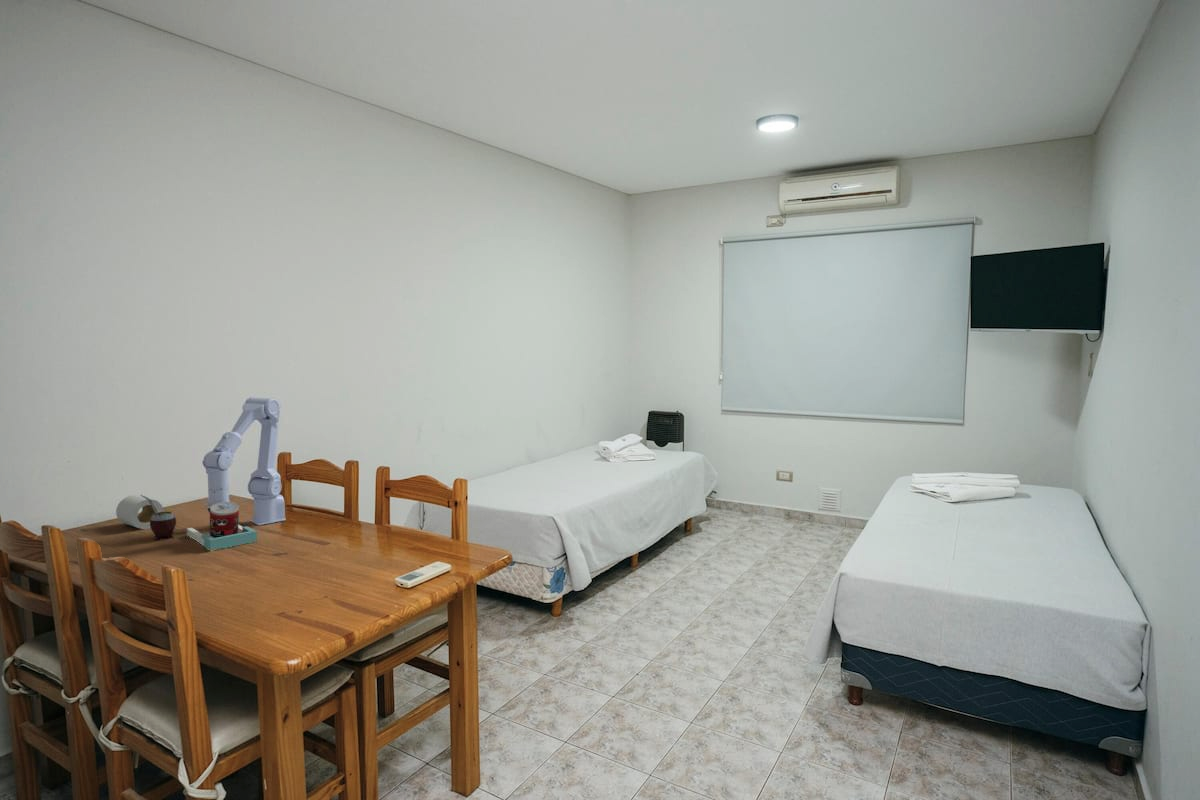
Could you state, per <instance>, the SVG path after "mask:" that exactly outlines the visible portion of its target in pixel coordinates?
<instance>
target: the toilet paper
mask: <svg viewBox="0 0 1200 800" xmlns="http://www.w3.org/2000/svg"><path fill="white" fill-rule="evenodd" d="M149 499H150V500H152V502H153V505H154V507H155V509H156V511H157V513H159V512H164V508H163V505H162V503H161V502H159V501H158V500H156V499H153V498H149ZM141 509H142V510H141ZM115 510H116V511H115V513H116V517H117V520H119V521H120V522H121V523H123V524H125V525H128V526H131V527H135V528H137V529H140V530H147V529H151V527H150V519H151V517H152V516H153V514H155V512H154V510H153V508H152V506H151V504H150V503H149V501H148V500H147V499H146V498H144V497H142V496H141V495H137V494H131V495H128V496H126V497H124V498H123V499H122V500H121V501H119V503H118V504H117V506H116V509H115ZM140 510H141V512H140ZM139 512H140V514H139ZM138 514H139V515H138Z"/></svg>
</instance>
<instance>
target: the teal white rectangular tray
mask: <svg viewBox="0 0 1200 800" xmlns="http://www.w3.org/2000/svg"><path fill="white" fill-rule="evenodd" d="M188 536H189V537H190V539H191V538H192V539H194V540H196V541H197V542H199V543H200V544H202V545H203V546H205V547H206V548H208V549H210V550H215V549H220V548H225V549H228V548H227V547H230V548H233V547H232V546H235V547H238V546H237V545H240V546H242V545H241V544H245V545H247V544H246V543H250V544H252V543H251V542H254V543H256V542H255V541H257V542H258V531H257V530H255V529H253V528H251V527H249V526H246V525H245V526H242V525H240V524H239V523H238V534H233V535H228V536H223V537H218V538H213V537H211V536H210V534H208V533H204V534H203V533H202V532H199V530H196V529H194V528H193V527H187V528H186V537H188ZM189 537H188V538H189ZM192 539H191V540H192ZM194 540H193V541H194ZM197 542H196V543H197ZM199 543H198V544H199ZM200 544H199V545H200ZM202 545H201V546H202ZM203 546H202V547H203ZM205 547H204V548H205ZM206 548H205V549H206ZM208 549H207V550H208ZM220 550H221V549H220Z"/></svg>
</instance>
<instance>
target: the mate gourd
mask: <svg viewBox="0 0 1200 800" xmlns="http://www.w3.org/2000/svg"><path fill="white" fill-rule="evenodd" d="M140 496H142V497H144V498H146V499H147V500H148V501H149V503H150V504H151V506H152V508H153V510H154V512H155V514H153V516H152V517H151V519H150V527H151V528H150V529H151V531H152V532H153V534H154V536H153V538H155V541H157V542H158V541H161V540H163V539H168V538H172V539H174V536H173V533H174V530H175V529H176V525H177V519H176V516H175V514H174V512H172V511H163V512H159V513H157V511H156V509H155V507H154V505H153V502H152V500H150V499H151V498H149V497H147V496H145V495H142V494H140ZM160 539H161V540H160Z"/></svg>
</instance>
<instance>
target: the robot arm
mask: <svg viewBox="0 0 1200 800" xmlns="http://www.w3.org/2000/svg"><path fill="white" fill-rule="evenodd" d="M241 412H242V413H241V415H240V416H239V417H238V419H237V420H236V423H235V424H234V426H233V428H232V429H231V430H230V431H228V432H225V433H223V434H222V436H221V438H220V440H219V441H218V442H217V444H216V445H215V447H214V448H213V449H212V450H210V451H208V452H207V453H206V454H205V455H204V457H203V460H201V461H202V462H201V463H202V465H203V467H204V469H205V473H206V475H207V489H208V490H207V493H208V498H207V502H205V503H204V506H206V507H209V508H207V511H208V513H209V514H210V507H211V506H212V505H214V504H216V503H220V502H231V501H230V493H229V492H230V490H229V489H230V487H229V468H230V467H231V466H232V463H233V459H234V454H235V453H236V451H237V449H239V447H240V446H241V444H242V442H243V440H242V436H243V435H244V433H246V431H247V430H249V428H250V426H251V425H252V424H253V423H254V422H255V421H258V423H260V425H261V430H260V438H259V439H260V440H259V448H258V449H259V450H258V460H257V468H256V470H254V471H253V472H252V473H250V479H249V481H248V483H247V491H248V493H249V494H250V495H251V498H253V518H252V519H249V522H251V523H254V524H255V525H257V526H262V525H268V524H272V523H278V522H283V521H286V519H287V518H286V505H285V503H286V502H285V499H284V496H283V495H282V494H280V493H281V491H282V482H281V480H282V479H281V477H282V476H281V475H280V473H279V472H278V471H276V469H275V466H276V456H277V445H278V435H279V428H280V427H279V426H280V413H281V404H280V403H279V401H278V400H277V399H276V398H272V397H271V398H269V397H254V396H250V397H247V398H246V400H245V402H244V403H243V404H242V411H241ZM223 505H224V506H223ZM219 506H220V507H222V508H224V509H227V508H231V505H230V504H229V505H226V504H221V505H219Z"/></svg>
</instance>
